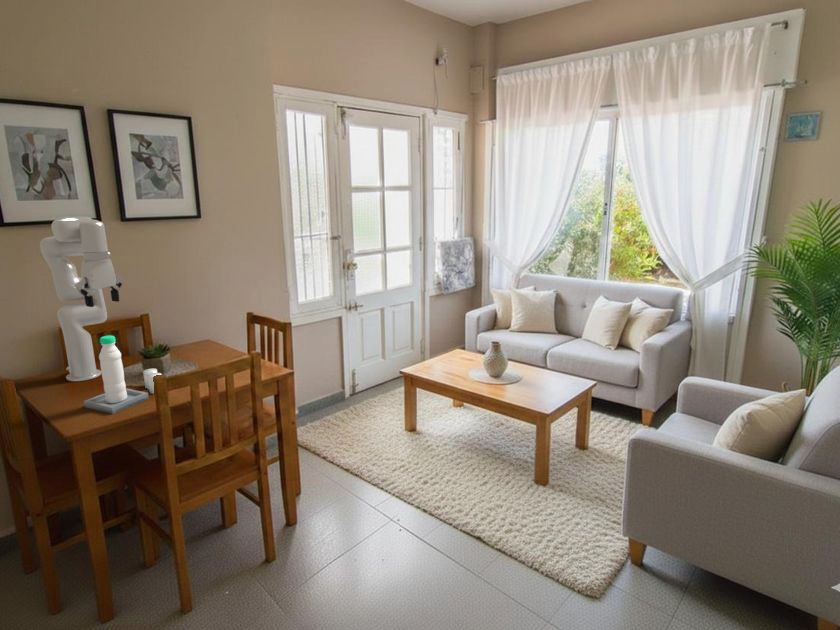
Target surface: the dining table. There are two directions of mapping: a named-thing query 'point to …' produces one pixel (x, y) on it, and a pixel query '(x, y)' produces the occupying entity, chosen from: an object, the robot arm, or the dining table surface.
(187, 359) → the dining table surface
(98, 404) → the tray
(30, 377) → the dining table surface
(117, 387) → the water bottle
